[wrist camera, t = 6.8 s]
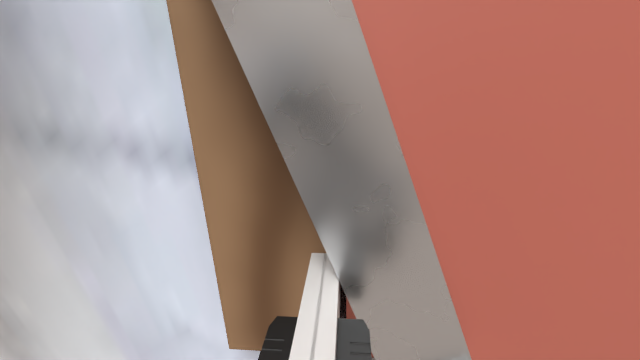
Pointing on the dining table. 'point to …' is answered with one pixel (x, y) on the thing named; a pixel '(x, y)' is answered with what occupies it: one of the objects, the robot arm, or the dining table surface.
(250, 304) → the strip
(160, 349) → the dining table surface
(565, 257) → the door slab
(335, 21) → the swing bar
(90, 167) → the dining table surface
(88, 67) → the dining table surface
